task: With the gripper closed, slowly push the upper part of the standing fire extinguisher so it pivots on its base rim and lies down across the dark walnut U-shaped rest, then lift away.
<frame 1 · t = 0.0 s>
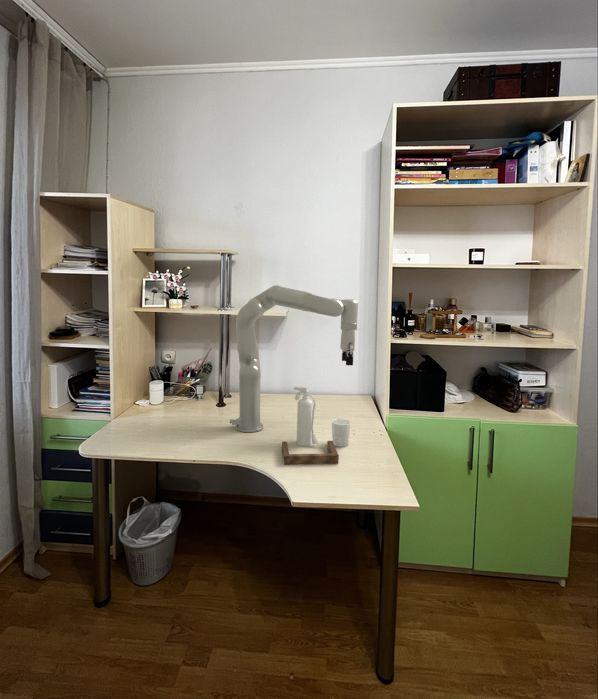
hand: (347, 363, 213), 31 cm above the table, tool pointing down, fingers open, 9 cm apart
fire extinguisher: (305, 444, 197), on the table
u rest: (309, 456, 184), on the table
white cup: (340, 444, 198), on the table
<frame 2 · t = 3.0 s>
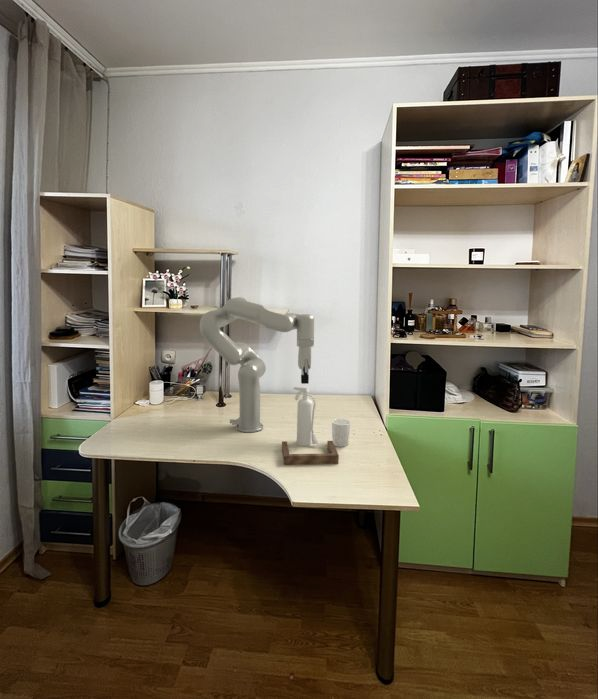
hand: (304, 383, 205), 24 cm above the table, tool pointing down, fingers closed
nothing on the table moved.
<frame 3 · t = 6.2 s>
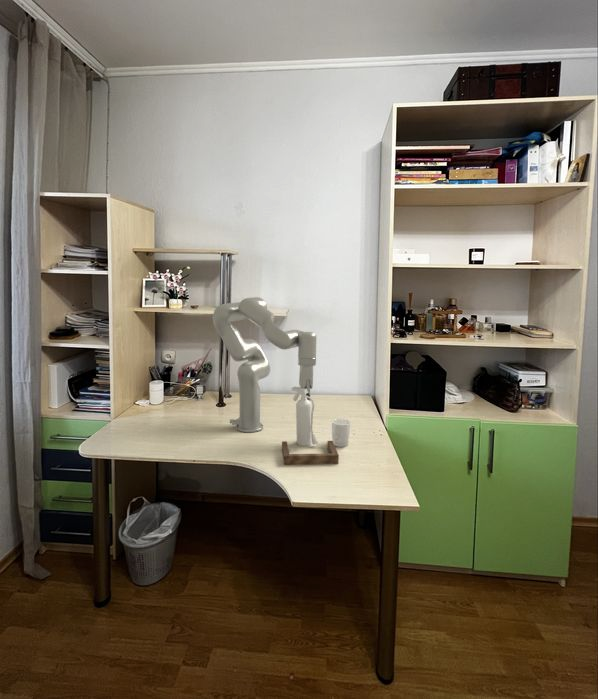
hand: (306, 403, 197), 17 cm above the table, tool pointing down, fingers closed
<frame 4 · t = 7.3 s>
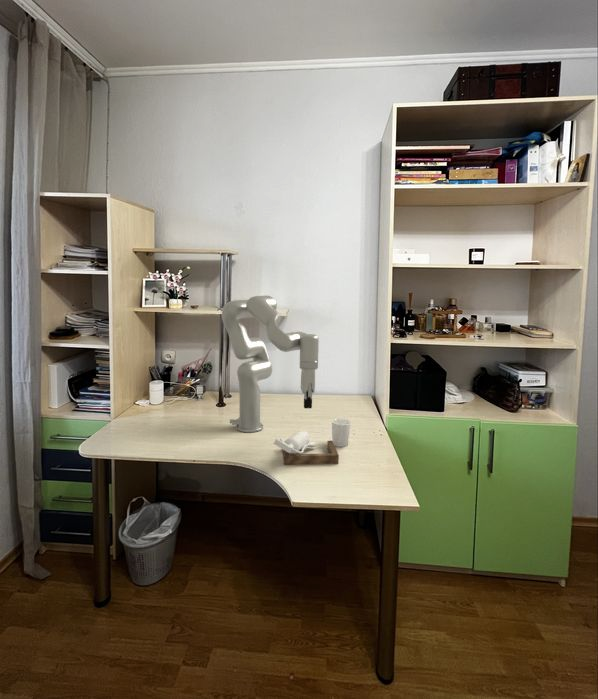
hand: (307, 407, 190), 17 cm above the table, tool pointing down, fingers closed
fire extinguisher: (303, 438, 195), point 3 cm above the table, touching u rest
everything else where it was.
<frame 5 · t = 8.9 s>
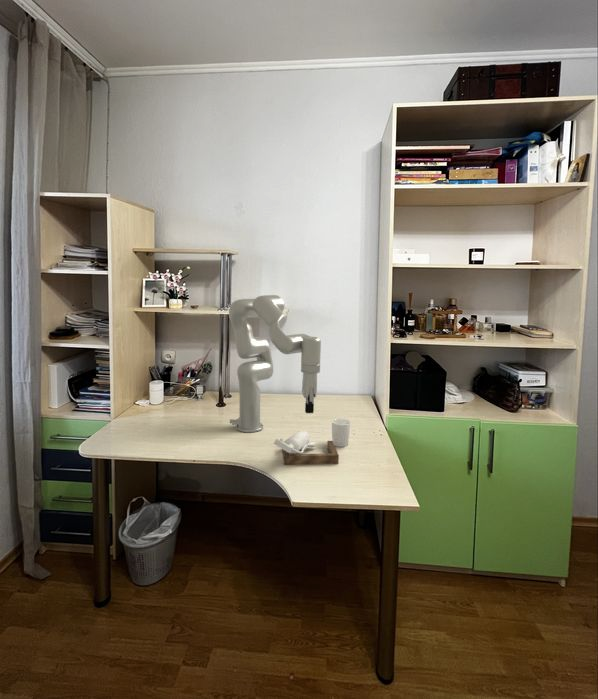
hand: (309, 412, 184), 17 cm above the table, tool pointing down, fingers closed
nothing on the table moved.
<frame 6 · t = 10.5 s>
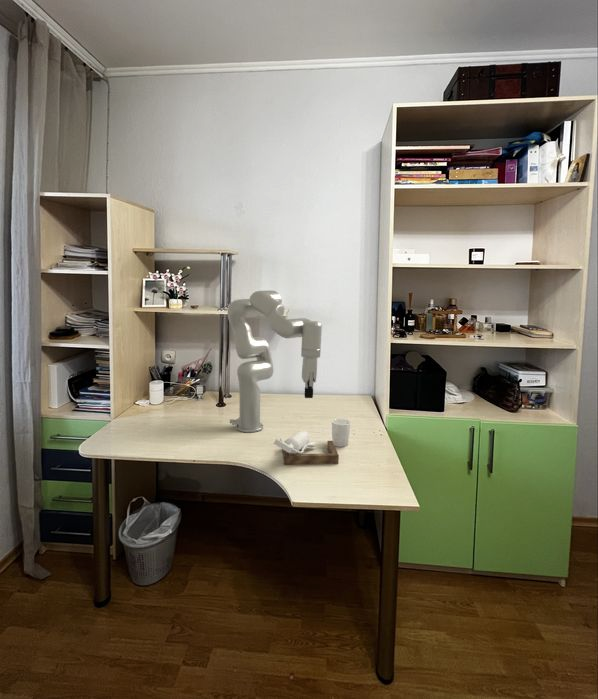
hand: (308, 397, 184), 23 cm above the table, tool pointing down, fingers closed
nothing on the table moved.
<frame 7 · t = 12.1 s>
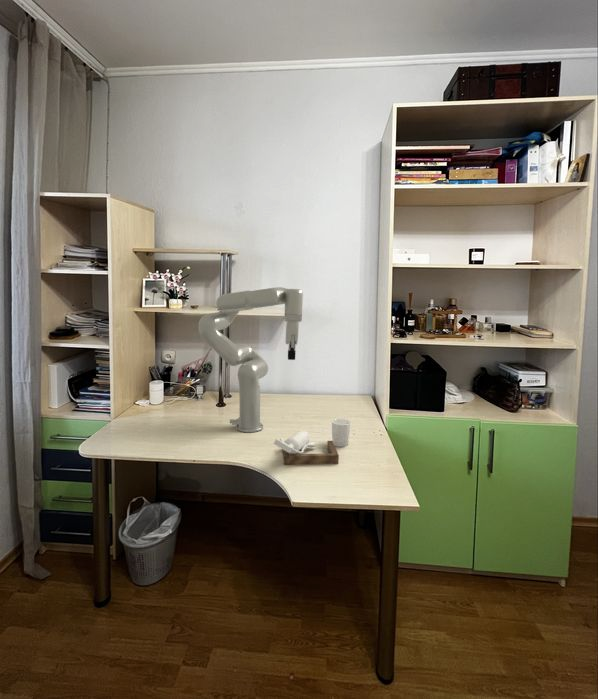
hand: (291, 359, 201), 35 cm above the table, tool pointing down, fingers closed
nothing on the table moved.
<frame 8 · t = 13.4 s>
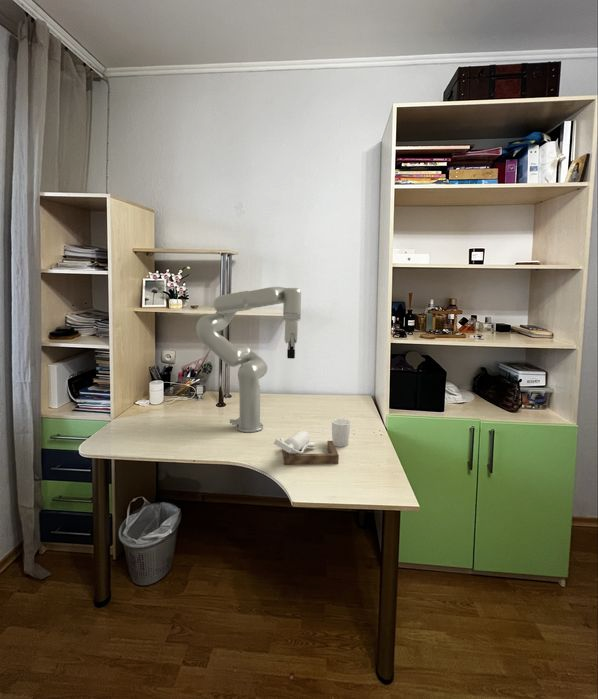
hand: (291, 358, 202), 35 cm above the table, tool pointing down, fingers closed
nothing on the table moved.
at the end: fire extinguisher tilted 79°; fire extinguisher touching table, u rest; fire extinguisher inside the target area on the table beside the u rest (2.0 cm from its centre), point 2.9 cm above the table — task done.
